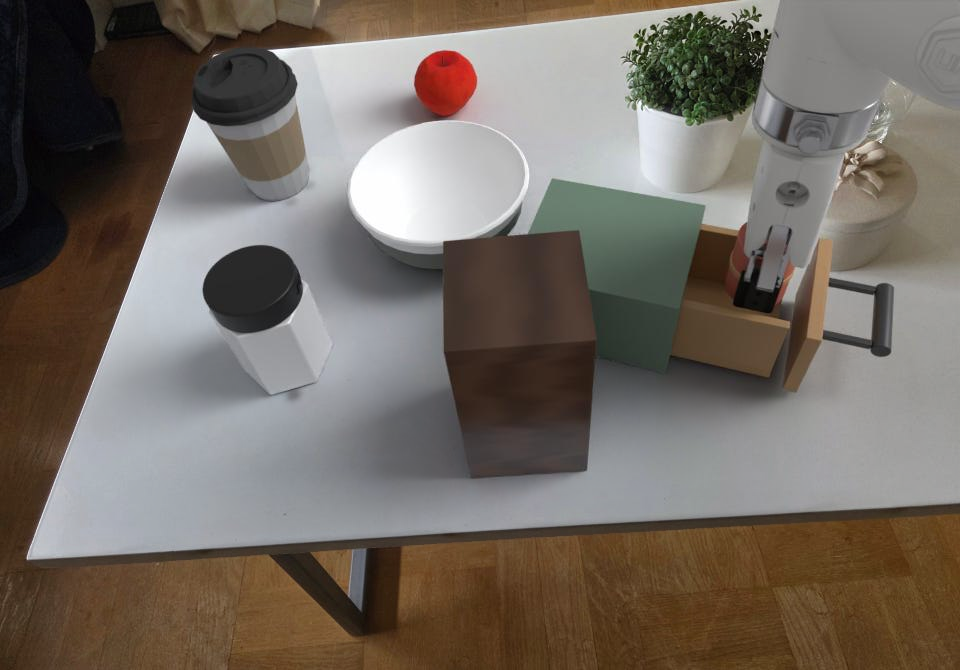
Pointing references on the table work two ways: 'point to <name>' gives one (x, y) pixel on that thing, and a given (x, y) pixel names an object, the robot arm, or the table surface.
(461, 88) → the apple
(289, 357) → the jar
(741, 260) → the red cylinder
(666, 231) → the cabinet
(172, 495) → the table surface
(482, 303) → the block
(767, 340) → the drawer
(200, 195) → the table surface
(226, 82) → the coffee cup
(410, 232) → the bowl
